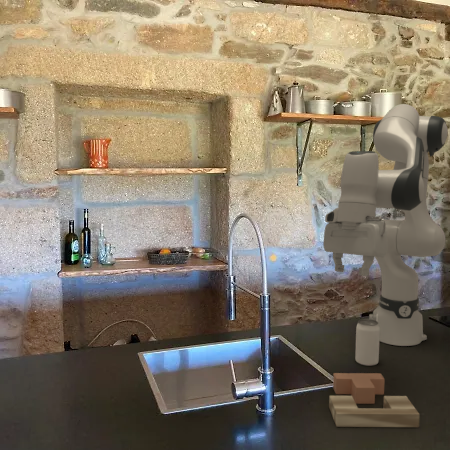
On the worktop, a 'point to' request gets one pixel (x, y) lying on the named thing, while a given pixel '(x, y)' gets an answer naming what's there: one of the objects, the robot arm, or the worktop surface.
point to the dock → (374, 413)
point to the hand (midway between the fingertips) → (350, 273)
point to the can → (367, 342)
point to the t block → (359, 386)
